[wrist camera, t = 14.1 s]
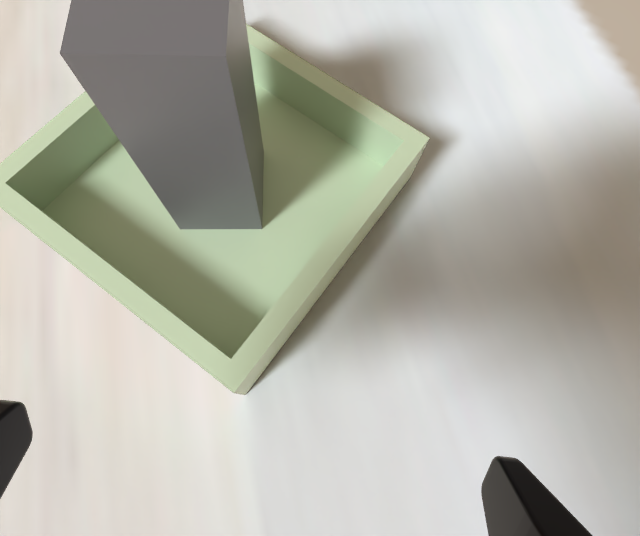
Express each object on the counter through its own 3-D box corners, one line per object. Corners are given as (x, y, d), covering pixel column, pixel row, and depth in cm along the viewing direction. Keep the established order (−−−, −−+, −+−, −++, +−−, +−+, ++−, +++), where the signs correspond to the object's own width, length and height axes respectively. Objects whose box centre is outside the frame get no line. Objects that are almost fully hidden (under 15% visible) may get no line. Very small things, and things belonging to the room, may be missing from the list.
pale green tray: (245, 394, 21) (233, 393, 17) (26, 221, 23) (-27, 186, 20) (410, 177, 26) (429, 137, 22) (212, 50, 28) (198, -6, 24)
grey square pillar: (262, 229, 23) (226, 56, 12) (180, 229, 23) (59, 53, 11) (263, 147, 25) (233, -75, 13) (187, 146, 24) (88, -80, 13)
